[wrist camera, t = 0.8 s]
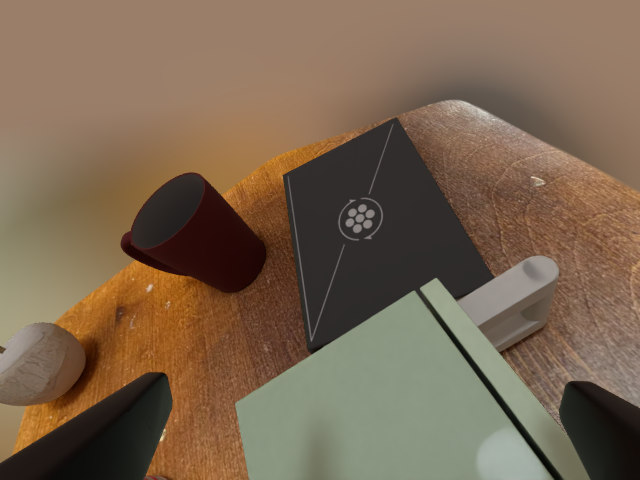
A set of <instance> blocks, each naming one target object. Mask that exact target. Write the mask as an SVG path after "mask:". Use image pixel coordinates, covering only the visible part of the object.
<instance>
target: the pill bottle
mask: <svg viewBox="0 0 640 480" xmlns="http://www.w3.org/2000/svg"><path fill="white" fill-rule="evenodd" d="M144 480H168V479H166V478H164V477H161V476H145V478H144Z"/></svg>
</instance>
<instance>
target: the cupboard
mask: <svg viewBox="0 0 640 480" xmlns="http://www.w3.org/2000/svg"><path fill="white" fill-rule="evenodd" d="M235 406H236V411H237V417H238V422H239V427H240V433H241V438H242V444H243V449H244V455H245V460H246V465H247V471H248V476H249V480H554V479H553V477H552V476H551V474H550V473H549V472H548V470H547V469H546V468H545V466H544V465H543V464H542V462H541V461H540V460H539V458H538V457H537V456H536V454H535V453H534V451H533V450H532V449H531V447H530V446H529V445H528V443H527V442H526V441H525V439H524V438H523V437H522V435H521V434H520V432H519V431H518V430H517V428H516V427H515V426H514V424H513V423H512V422H511V420H510V419H509V418H508V416H507V415H506V414H505V412H504V411H503V409H502V408H501V407H500V405H499V404H498V403H497V401H496V400H495V399H494V397H493V396H492V395H491V393H490V392H489V390H488V389H487V388H486V386H485V385H484V384H483V382H482V381H481V380H480V378H479V377H478V376H477V374H476V373H475V372H474V370H473V369H472V367H471V366H470V365H469V363H468V362H467V361H466V359H465V358H464V357H463V355H462V354H461V353H460V351H459V350H458V348H457V347H456V346H455V344H454V343H453V342H452V340H451V339H450V338H449V336H448V335H447V334H446V332H445V331H444V330H443V328H442V327H441V325H440V324H439V323H438V321H437V320H436V319H435V317H434V316H433V315H432V313H431V312H430V311H429V309H428V308H427V307H426V305H425V304H424V302H423V301H422V300H421V298H420V297H419V296H418V294H417V293H416V292H415V291H412V292H411V293H409V294H407V295H406V296H404V297H403V298H401V299H399V300H398V301H396V302H395V303H393V304H391V305H390V306H388V307H387V308H385V309H384V310H382V311H380V312H379V313H377V314H376V315H374V316H372V317H371V318H369V319H368V320H366V321H365V322H363V323H361V324H360V325H358V326H357V327H355V328H353V329H352V330H350V331H349V332H347V333H345V334H344V335H342V336H341V337H339V338H338V339H336V340H334V341H333V342H331V343H330V344H328V345H326V346H325V347H323V348H322V349H320V350H318V351H317V352H315V353H314V354H312V355H311V356H309V357H307V358H306V359H304V360H303V361H301V362H299V363H298V364H296V365H295V366H293V367H292V368H290V369H288V370H287V371H285V372H284V373H282V374H280V375H279V376H277V377H276V378H274V379H272V380H271V381H269V382H268V383H266V384H265V385H263V386H261V387H260V388H258V389H257V390H255V391H253V392H252V393H250V394H249V395H247V396H245V397H244V398H242V399H241V400H239V401H238V402H236V403H235Z"/></svg>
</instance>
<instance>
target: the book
mask: <svg viewBox="0 0 640 480" xmlns="http://www.w3.org/2000/svg"><path fill="white" fill-rule="evenodd" d="M283 180H284V187H285V195H286V202H287V209H288V216H289V223H290V230H291V237H292V244H293V251H294V258H295V265H296V272H297V279H298V286H299V293H300V300H301V307H302V315H303V322H304V329H305V336H306V343H307V349H308V351H309V352H310V353H311V354H314V353H315V352H317V351H318V350H320V349H322V348H323V347H325V346H326V345H328V344H330V343H331V342H333V341H334V340H336V339H338V338H339V337H341V336H342V335H344V334H345V333H347V332H349V331H350V330H352V329H353V328H355V327H357V326H358V325H360V324H361V323H363V322H365V321H366V320H368V319H369V318H371V317H372V316H374V315H376V314H377V313H379V312H380V311H382V310H384V309H385V308H387V307H388V306H390V305H391V304H393V303H395V302H396V301H398V300H399V299H401V298H403V297H404V296H406V295H407V294H409V293H411V292H412V291H415V292H416V293H417V294H418V296H419V297H420V298H421V300H422V301H423V302H424V304H425V305H426V307H427V308H428V309H429V307H428V305H427V303H426V301H425V299H424V297H423V295H422V293H421V291H420V288H421V287H422V286H424V285H426V284H427V283H429V282H430V281H432V280H433V279H435V278H437V279H438V280H439V281H440V282H441V283H442V285H443V286H444V287H445V288H446V289H447V291H448V292H449V293H450V294H451V295H452V297H453V298H454V299H455V300H456V302H457V301H459V300H460V299H462V298H464V297H465V296H467V295H468V294H470V293H472V292H473V291H475V290H477V289H478V288H480V287H481V286H483V285H485V284H486V283H488V282H490V281H491V280H493V279H494V277H493V275H492V274H491V272H490V270H489V269H488V267H487V266H486V264H485V262H484V261H483V259H482V257H481V256H480V254H479V252H478V251H477V249H476V247H475V246H474V244H473V242H472V241H471V239H470V237H469V236H468V234H467V233H466V231H465V229H464V228H463V226H462V224H461V223H460V221H459V219H458V218H457V216H456V214H455V213H454V211H453V209H452V208H451V206H450V204H449V203H448V201H447V199H446V198H445V196H444V195H443V193H442V191H441V190H440V188H439V186H438V185H437V183H436V181H435V180H434V178H433V176H432V175H431V173H430V171H429V170H428V168H427V166H426V165H425V163H424V161H423V160H422V158H421V157H420V155H419V153H418V152H417V150H416V148H415V147H414V145H413V143H412V142H411V140H410V138H409V137H408V135H407V133H406V132H405V130H404V128H403V127H402V125H401V124H400V122H399V120H398V119H397V118H393V119H391V120H389V121H387V122H385V123H383V124H381V125H379V126H378V127H376V128H374V129H372V130H370V131H368V132H366V133H364V134H362V135H360V136H358V137H356V138H354V139H352V140H350V141H348V142H346V143H344V144H342V145H340V146H338V147H336V148H335V149H333V150H331V151H329V152H327V153H325V154H323V155H321V156H319V157H317V158H315V159H313V160H311V161H309V162H307V163H305V164H303V165H301V166H299V167H297V168H295V169H293V170H292V171H290V172H288V173H286V174H284V175H283ZM429 311H430V309H429ZM430 312H431V311H430Z"/></svg>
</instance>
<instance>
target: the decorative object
mask: <svg viewBox="0 0 640 480" xmlns="http://www.w3.org/2000/svg"><path fill="white" fill-rule="evenodd" d="M85 362H86V355H85V351H84V349H83V347H82V345H81V344H80V342H79V341H78V340H77V339H76V338H75V337H74V336H73V335H72V334H71V333H70V332H68V331H67V330H65V329H63V328H61V327H60V326H57V325H56V324H52V323H43V322H42V323H34V324H31V325H28V326H26V327H24V328H22V329H20V330H19V331H18V332H17V333H16V334H15V335H14V336H13V337H12V338H11V339H10V340H9V341H8V342H7V343H6V344H5V345H4V347H1V346H0V403H3V404H8V405H15V406H29V405H37V404H42V403H46V402H50V401H52V400H55V399H57V398H59V397H60V396H62V395H63V394H65V393H66V392H67V391H69V390H70V389H71V387H72V386H73V385H74V384H75V383H76V381H77V380H78V379H79V377H80V375H81V374H82V372H83V370H84V367H85Z"/></svg>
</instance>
